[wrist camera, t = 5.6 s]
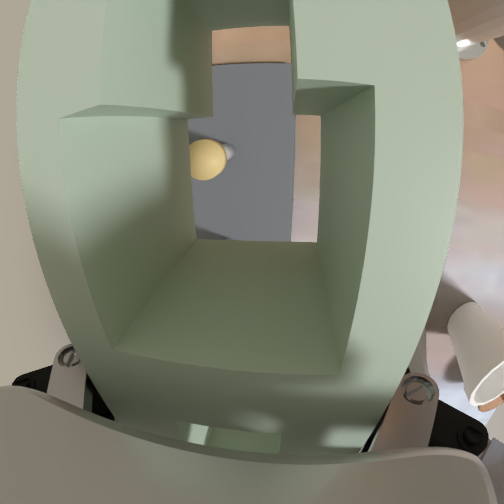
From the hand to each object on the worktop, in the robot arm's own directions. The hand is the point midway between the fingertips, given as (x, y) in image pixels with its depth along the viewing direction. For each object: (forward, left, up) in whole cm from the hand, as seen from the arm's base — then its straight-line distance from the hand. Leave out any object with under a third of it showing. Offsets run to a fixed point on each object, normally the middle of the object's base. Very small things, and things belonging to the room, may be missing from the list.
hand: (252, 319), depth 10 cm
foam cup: (+15, +29, -20) cm, 39 cm away
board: (0, -5, -20) cm, 21 cm away
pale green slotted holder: (0, 0, -1) cm, 1 cm away
